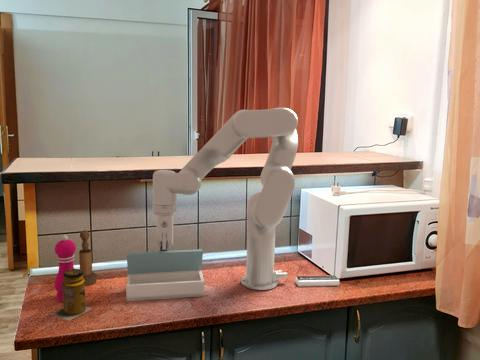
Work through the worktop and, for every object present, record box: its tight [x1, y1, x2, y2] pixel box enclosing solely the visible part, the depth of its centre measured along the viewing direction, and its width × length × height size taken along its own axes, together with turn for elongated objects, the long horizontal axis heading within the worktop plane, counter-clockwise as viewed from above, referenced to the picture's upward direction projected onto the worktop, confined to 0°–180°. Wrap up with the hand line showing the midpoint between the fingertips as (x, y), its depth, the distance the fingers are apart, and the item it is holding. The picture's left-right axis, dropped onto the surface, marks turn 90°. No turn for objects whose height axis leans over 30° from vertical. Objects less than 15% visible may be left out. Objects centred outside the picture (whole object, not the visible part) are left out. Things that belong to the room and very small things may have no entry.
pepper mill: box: [53, 234, 77, 303], centre depth 129 cm, size 7×7×20 cm
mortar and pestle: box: [78, 229, 97, 287], centre depth 141 cm, size 7×6×18 cm
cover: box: [126, 248, 204, 275], centre depth 137 cm, size 24×9×1 cm
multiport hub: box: [294, 275, 340, 287], centre depth 146 cm, size 4×14×2 cm, turn 96°
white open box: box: [125, 270, 206, 302], centre depth 136 cm, size 24×9×5 cm, turn 102°
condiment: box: [51, 268, 93, 322], centre depth 121 cm, size 7×8×12 cm
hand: (164, 262), depth 139 cm, fingers closed
